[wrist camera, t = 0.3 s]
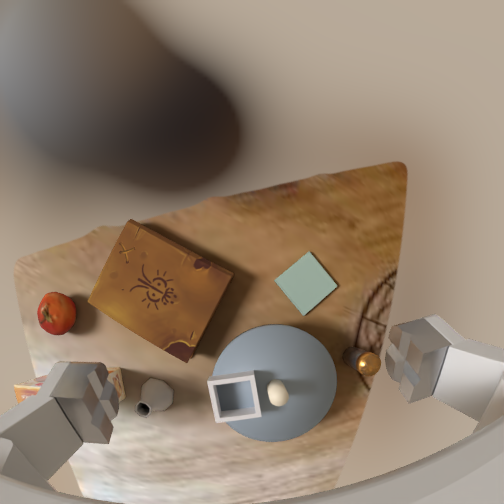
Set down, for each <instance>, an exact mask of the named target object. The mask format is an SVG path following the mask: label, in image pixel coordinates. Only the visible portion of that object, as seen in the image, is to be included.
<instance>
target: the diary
mask: <svg viewBox="0 0 504 504" xmlns="http://www.w3.org/2000/svg"><path fill="white" fill-rule="evenodd" d="M233 277H234V273H232V272H230V271H228V270H226V269H224V268H222V267H220V266H218V265H217V264H215V263H213V262H211V261H209V260H207V259H205V258H203V257H201V256H199V255H197V254H196V253H194V252H192V251H190V250H188V249H186V248H184V247H182V246H180V245H179V244H177V243H175V242H173V241H171V240H169V239H167V238H166V237H164V236H162V235H160V234H158V233H156V232H154V231H153V230H151V229H149V228H147V227H145V226H143V225H141V224H140V223H138V222H136V221H134V220H132V219H130V220H129V221H128V222H127V223H126V225H125V227H124V229H123V231H122V233H121V234H120V236H119V238H118V240H117V242H116V244H115V246H114V248H113V250H112V252H111V254H110V256H109V258H108V260H107V262H106V264H105V266H104V268H103V270H102V272H101V274H100V276H99V278H98V280H97V282H96V284H95V286H94V288H93V291H92V293H91V295H90V297H89V299H88V303H90V304H91V305H93V306H94V307H96V308H97V309H99V310H100V311H102V312H103V313H105V314H106V315H108V316H109V317H111V318H112V319H114V320H115V321H117V322H118V323H120V324H121V325H123V326H124V327H126V328H128V329H129V330H131V331H132V332H134V333H136V334H137V335H139V336H141V337H142V338H144V339H146V340H147V341H149V342H151V343H152V344H154V345H156V346H157V347H159V348H161V349H162V350H164V351H166V352H168V353H169V354H171V355H173V356H175V357H177V358H178V359H180V360H182V361H184V362H186V363H187V362H188V361H189V359H190V358H192V356H193V354H194V352H195V350H196V348H197V346H198V344H199V342H200V341H201V339H202V337H203V335H204V333H205V331H206V329H207V327H208V325H209V323H210V321H211V319H212V317H213V315H214V313H215V312H216V310H217V308H218V306H219V304H220V302H221V300H222V298H223V296H224V294H225V292H226V290H227V288H228V286H229V285H230V283H231V281H232V279H233Z"/></svg>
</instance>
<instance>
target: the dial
mask: <svg viewBox="0 0 504 504" xmlns="http://www.w3.org/2000/svg"><path fill="white" fill-rule="evenodd" d="M207 383H208V388H209V393H210V397H211V402H212V407H213V412H214V416H215V421H216V423H219V422H226V423H227V424H228V425H229V426H230V427H231V428H232V429H234V430H235V431H237V432H238V433H240V434H242V435H244V436H246V437H248V438H251V439H255V440H259V441H266V442H278V441H285V440H289V439H293V438H295V437H298V436H300V435H302V434H304V433H306V432H308V431H309V430H311V429H312V428H313V427H315V426H316V425H317V424H318V423H319V422H320V421H321V420H322V419H323V418H324V416H325V415H326V414H327V412H328V411H329V409H330V407H331V405H332V403H333V400H334V397H335V393H336V387H337V374H336V369H335V365H334V362H333V360H332V358H331V356H330V354H329V352H328V351H327V350H326V348H325V347H324V346H323V345H322V344H321V343H320V342H319V341H318V340H317V339H316V338H314V337H313V336H312V335H310V334H308V333H307V332H305V331H303V330H300V329H298V328H295V327H292V326H288V325H282V324H269V325H262V326H258V327H255V328H252V329H249V330H247V331H245V332H243V333H242V334H240V335H239V336H237V337H236V338H234V339H233V340H232V341H231V342H230V343H229V344H228V345H227V346H226V348H225V349H224V350H223V352H222V353H221V355H220V357H219V359H218V361H217V363H216V365H215V368H214V371H213V375H212V376H209V379H208V381H207Z"/></svg>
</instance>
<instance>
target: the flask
mask: <svg viewBox="0 0 504 504" xmlns="http://www.w3.org/2000/svg"><path fill="white" fill-rule="evenodd" d="M173 393H174V390H173V389H172V388H171V387H170V386H168V385H167V384H166V383H165V382H164V381H163V380H158V379H153V378H150V379H149V380H148V381H147V382H145V383H144V384H143V385H142V389H141V401H139V402H138V403H137V404H136V405H135V412H136V413H137V414H138V415H139V416H141V417H145V418H147V417H148V416H149V415H150V414H151V412H152V411H164V410H166V409H167V408H168V407H169V406H170V405H171V404H172V403H173Z"/></svg>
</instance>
